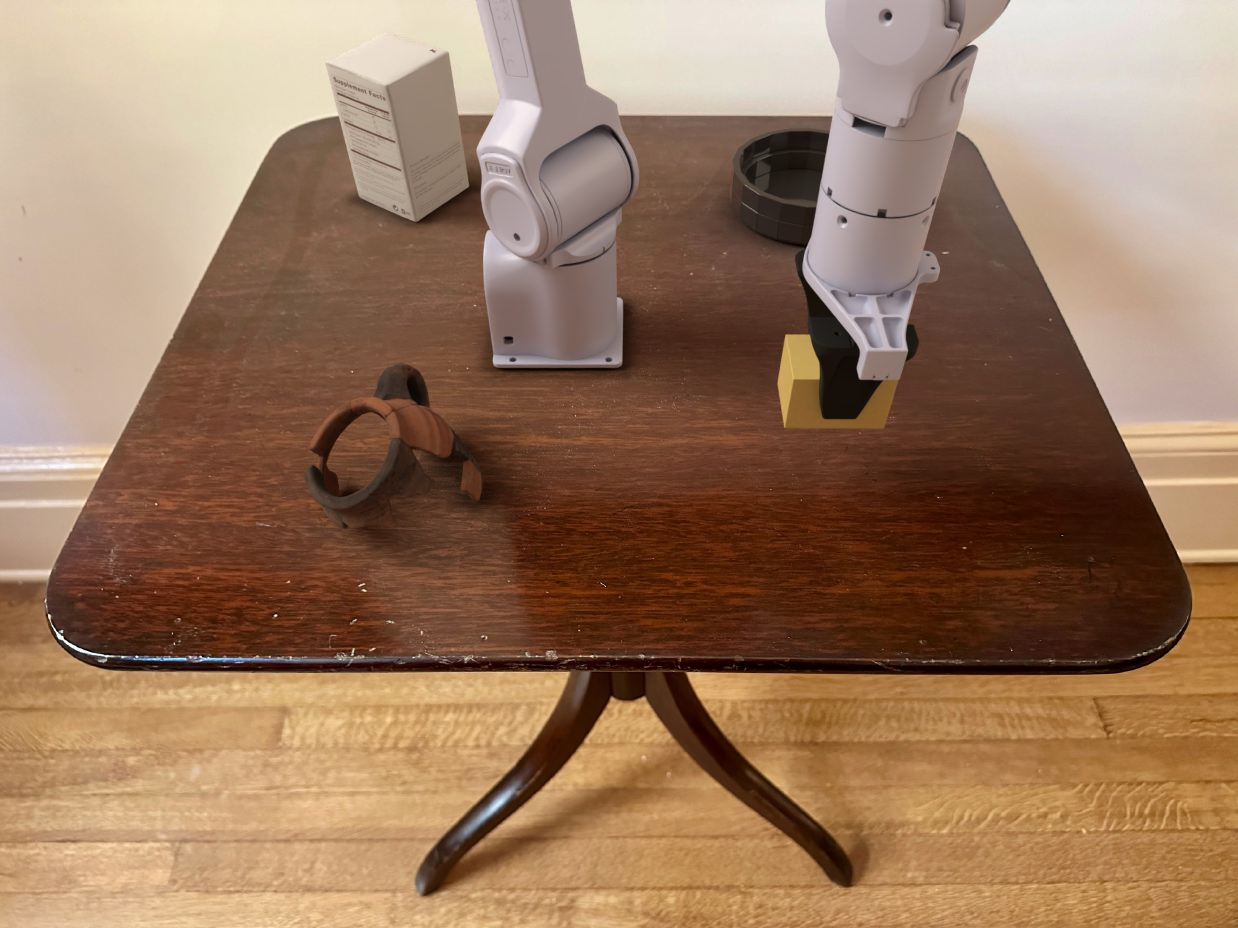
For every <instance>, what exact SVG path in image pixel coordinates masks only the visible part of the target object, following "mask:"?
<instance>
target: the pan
mask: <svg viewBox="0 0 1238 928" xmlns="http://www.w3.org/2000/svg"><path fill="white" fill-rule="evenodd" d="M829 134H830V130H828V129H822V128H821V129H820V128H815V127H787V128H781V129H775V130H769V131H765V132H764V133H763V132H762V133H760V134H757V135H756V136H753V137H750V138H749V139H748V140H746V141H745V142H744V143H742V144H741V145H740V146H739V147H737V149H736V151H735V153H734V155H733V156H732V159H731V168H730V179H729V190H728V191H729V192H728V196H729V205H730V208H731V210H732V211H733V212H734V214H735V215H736V217H737V218H738V220H739V221H741V222H742V223H744V224H745V225H746V226H747V227H748V228H750V229H751V230H752V231H754V232H756V233H758V234H760V235H762V236H764V237H767V238H769V239H772V240H775V241H779V242H781V243H786V244H793V245H798V246H799V245H800V246H808V243H809V241H810V239H811V236H812V231H813V225H814V219H815V213H816V208H817V202H818V196H819V190H820V184H821V179H822V174H823V168H824V163H825V157H826V151H827V145H828V140H829Z"/></svg>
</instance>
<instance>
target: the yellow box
mask: <svg viewBox="0 0 1238 928" xmlns="http://www.w3.org/2000/svg"><path fill="white" fill-rule="evenodd" d="M784 336H785V337H784V341H783V348H782V354H781V359H780V364H779V365H780V367H779V372H778V377H777V389H778V395H779V396H778V397H779V402H780V408H781V415H782V422H783V428H784V429H848V430H849V429H852V430H853V429H854V430H855V429H859V430H861V429H864V430H867V429H871V430H872V429H873V430H874V429H875V430H876V429H877V430H879V429H880V430H881V429H885V427H886V424H887V420H888V417H889V413H890V410H891V407H892V403H893V400H894V396H895V393H896V390H897V387H898V384H899V383H898V382H899V380H883V382H882V383H881V384H880V385H879V387H878V388H877V389H876V391H875V392H874V394H873V395H872V397H871V398H870V400H869V401H868V403H867V404H866V406H865V407H864V409H863V410H862V412H861V413H860V414H859V416H858V417H857V418H856V419H823V418H822V414H821V408H820V402H819V378H820V367H819V360H818V358H817V357H816V354H815V351H814V349H813V346H812V343H811V338H810V335H808V334H785V335H784Z"/></svg>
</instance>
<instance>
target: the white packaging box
mask: <svg viewBox="0 0 1238 928" xmlns="http://www.w3.org/2000/svg"><path fill="white" fill-rule="evenodd" d="M324 64H325V67H326V70H327V75H328V78H329V79H328V80H329V83H330V88H331V91H332V94H333V99H334V102H335V107H336V111H337V115H338V118H339V123H340V127H341V131H342V135H343V139H344V143H345V145H346V151H347V154H348V158H349V162H350V166H351V171H352V175H353V180H354V182H355V183H354V184H355V186H356V190H357V194H358V197H359V198H360V199H362V200H364V201H365V202H368V203H370V204H372V205H375V206H376V207H379V208H382V209H383V210H386V211H388V212H390V213H393V214H395V215H397V216H399V217H402V218H405V219H407V220H410V221H411V222H414V223H418V222H419V221H421V220H422V219H423V218H425V217H426V216H427V215H429V214H431V213H432V212H433V211H435V210H437V209H438V208H440V207H441V206H442V205H444V204H446V203H447V202H449V201H450V200H452V199H453V198H454V197H456V196H457V195H459V194H461V193H462V192H464V191H465V190H466V189H468V188H469V187H470V184H469V176H468V169H467V164H466V163H467V162H466V157H465V149H464V144H463V137H462V129H461V123H460V116H459V109H458V104H457V103H458V102H457V97H456V91H455V85H454V84H455V83H454V77H453V70H452V64H451V57H450V52H449V51H447V50H445V49H443V48H440V47H437V46H435V45H431V44H428V43H425V42H423V41H422V42H421V41H419V40H415V39H412V38H409V37H406V36H403V35H400V34H396V33H394V32H391V31H384V32H382V33H381V34H378V35H377V36H375V37H373V38H371V39H369V40H366V41H365V42H363V43H361V44H359V45H357V46H355V47H353V48H350V49H349V50H347V51H345V52H342V53H341V54H339V55H337V56H334V57H333V58H330V59H328V60H326V61H325V63H324Z"/></svg>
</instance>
